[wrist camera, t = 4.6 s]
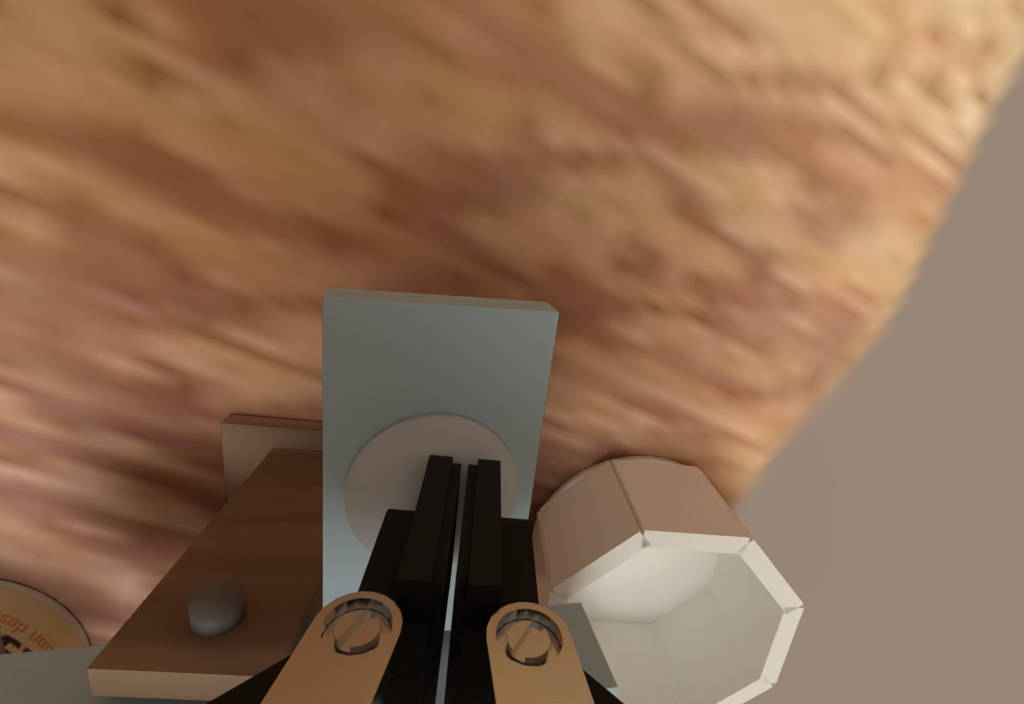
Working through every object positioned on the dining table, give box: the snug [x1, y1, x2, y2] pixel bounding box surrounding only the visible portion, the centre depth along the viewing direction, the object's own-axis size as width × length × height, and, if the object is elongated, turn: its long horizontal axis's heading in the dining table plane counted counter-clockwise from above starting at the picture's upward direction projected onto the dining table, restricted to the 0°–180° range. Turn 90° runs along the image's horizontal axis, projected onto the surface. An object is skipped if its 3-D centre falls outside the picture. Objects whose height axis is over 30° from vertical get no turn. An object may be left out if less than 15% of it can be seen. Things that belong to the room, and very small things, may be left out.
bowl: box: [532, 456, 804, 704], centre depth 21 cm, size 9×9×5 cm
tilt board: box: [0, 287, 618, 704], centre depth 12 cm, size 16×21×5 cm
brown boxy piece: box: [87, 414, 323, 701], centre depth 17 cm, size 10×8×10 cm
